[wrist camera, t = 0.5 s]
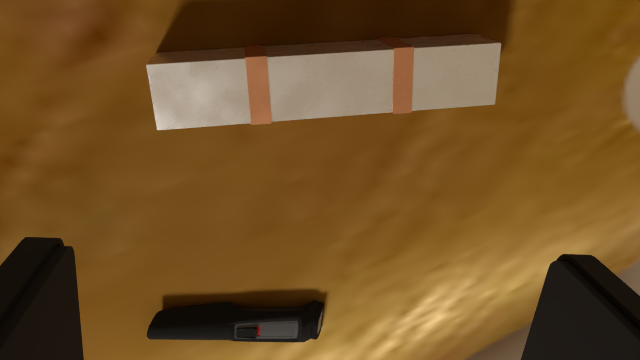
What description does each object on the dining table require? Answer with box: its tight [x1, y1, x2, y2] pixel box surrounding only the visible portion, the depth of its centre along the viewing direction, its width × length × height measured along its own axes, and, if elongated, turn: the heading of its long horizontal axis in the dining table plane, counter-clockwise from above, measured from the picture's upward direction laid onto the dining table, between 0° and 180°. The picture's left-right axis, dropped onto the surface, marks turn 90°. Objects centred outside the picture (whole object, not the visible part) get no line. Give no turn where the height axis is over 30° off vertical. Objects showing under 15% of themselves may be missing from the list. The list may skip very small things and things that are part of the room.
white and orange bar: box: [146, 34, 501, 130], centre depth 38 cm, size 24×5×5 cm, turn 92°
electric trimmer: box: [147, 300, 324, 342], centre depth 47 cm, size 4×16×3 cm, turn 84°
